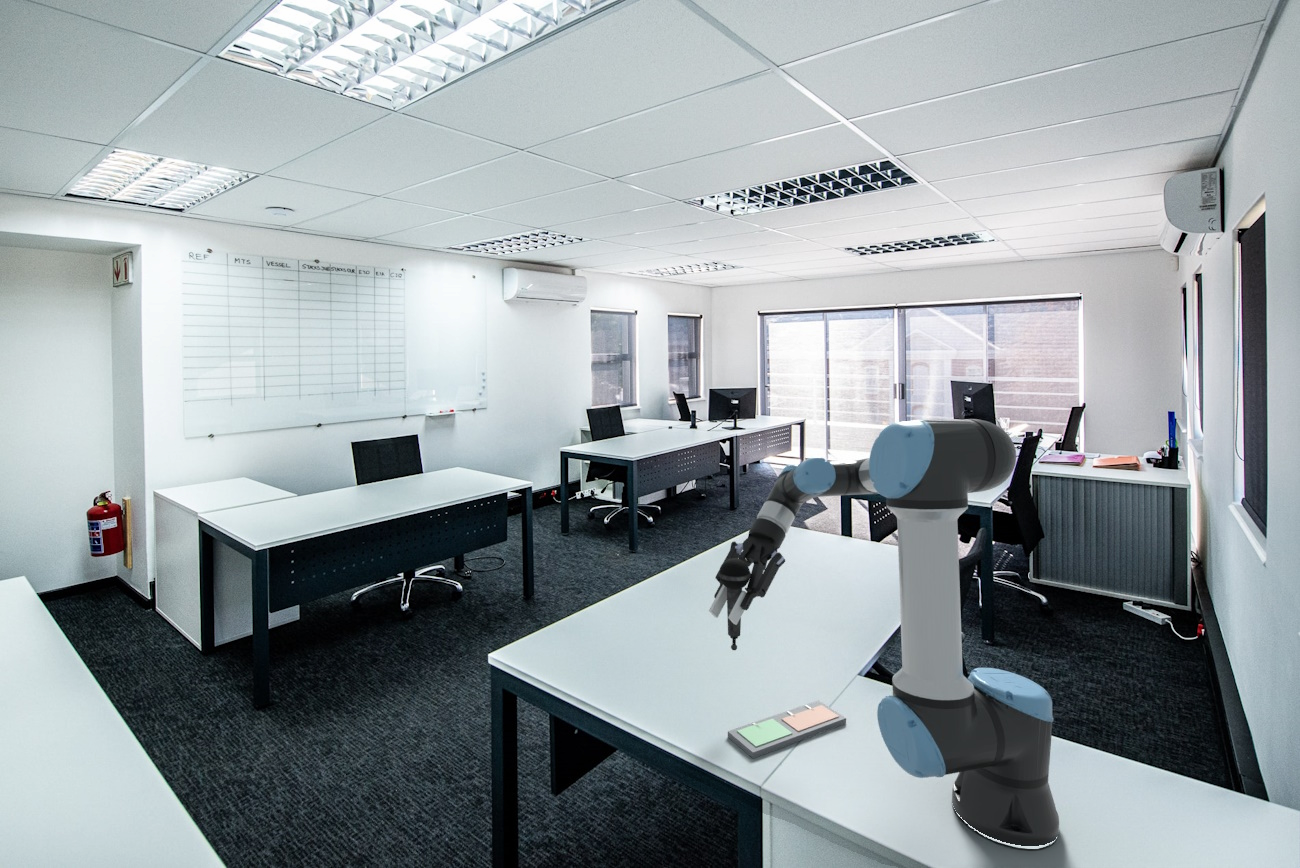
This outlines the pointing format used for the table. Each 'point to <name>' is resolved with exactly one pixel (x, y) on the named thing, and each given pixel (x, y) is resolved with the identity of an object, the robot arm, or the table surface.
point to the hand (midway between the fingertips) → (722, 617)
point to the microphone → (734, 590)
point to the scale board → (785, 728)
